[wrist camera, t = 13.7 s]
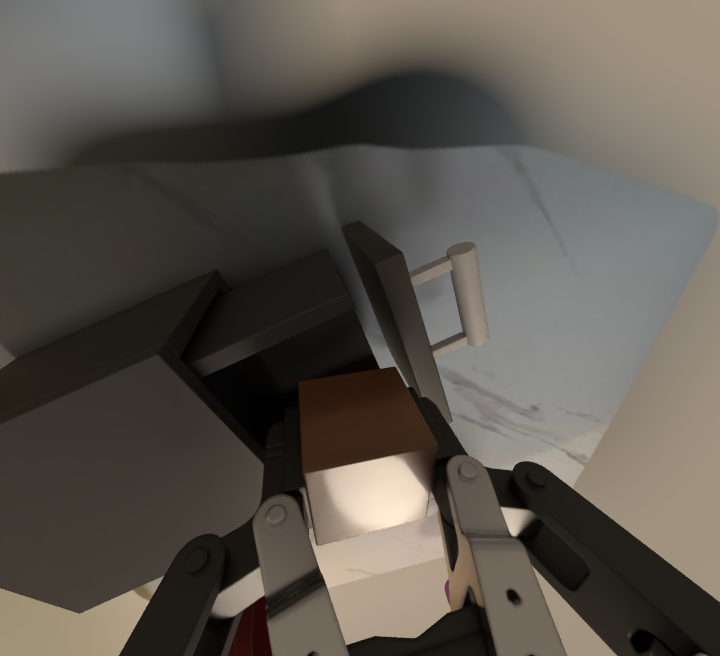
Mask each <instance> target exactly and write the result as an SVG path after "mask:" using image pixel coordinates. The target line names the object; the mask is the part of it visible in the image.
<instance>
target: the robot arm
mask: <svg viewBox="0 0 720 656" xmlns="http://www.w3.org/2000/svg"><path fill="white" fill-rule="evenodd" d="M407 389H408V391H409V392H410V394H411V396H412V398H413V400H414V402H415V403H416V405H417V407H418V409H419V411H420V413H421V415H422V416H423V418H424V420H425V422H426V424H427V426H428V427H429V429H430V431H431V433H432V435H433V437H434V438H435V440H436V442H437V444H438V446H437V453H436V459H435V465H434V471H433V478H432V484H431V490H430V496H429V500H431V499H435V500H436V503H437V505H438V507H439V508H438V520H439V525H440V531H441V536H442V542H443V548H444V553H445V558H446V563H447V570H448V577H449V599H450V607H451V612H449V613H447V614H446V615H445V616H443V617H442V618H441V619H440V620H438V621H437V622H436V623H435V624H434V625H432V626H431V627H430V628H429V629H427V630H426V631H425V632H424V633H422V634H421V635H420V636H419V637H417V638H397V637H380V636H374V637H371V638H368V639H365V640H361V641H358V642H355V643H352V644H349V645H346V644H345V641H344V638H343V635H342V632H341V629H340V626H339V622H338V619H337V617H336V613H335V610H334V608H333V604H332V601H331V598H330V595H329V592H328V589H327V586H326V583H325V581H324V578H323V575H322V574H321V572H320V569H319V566H318V563H317V560H316V557H315V554H314V551H313V548H312V545H311V542H310V539H309V529H310V528H313V526H312V520H311V515H310V510H309V504H308V499H307V494H306V488H305V483H304V478H303V472H302V453H301V432H300V412H299V406H293V407H287V408H285V411H284V421H283V422H277V423H273V424H272V425H271V427H270V429H269V431H268V433H267V434H266V446H265V447H266V449H265V459H264V472H263V485H262V497H261V502H260V505H259V507H258V509H257V511H256V512H255V514H254V515H253V516H252V517H251V518H250V519H249V520H248V521H247V522H246V523H245V524H243V525H242V526H240V527H239V528H237V529H235V530H234V531H232V532H230V533H228V534H227V535H225V536H223V537H221V538H220V537H219V536H218V535H215V534H203V535H200V536H198V537H196V538H194V539H192V540H191V541H189V542H188V543H187V544H186V545H185V546H184V547H183V548H182V549H181V550H180V551H179V552H178V553H177V555H176V557H175V558H174V560H173V561H172V563H171V565H170V567H169V569H168V570H167V572H166V574H165V576H164V577H163V579H162V581H161V583H160V584H159V586H158V588H157V590H156V591H155V593H154V595H153V597H152V598H151V600H150V602H149V604H148V606H147V607H146V609H145V611H144V613H143V614H142V616H141V618H140V620H139V621H138V623H137V625H136V627H135V628H134V630H133V632H132V634H131V636H130V637H129V639H128V641H127V642H126V644H125V646H124V648H123V649H122V651H121V653H120V655H119V656H228V653H229V650H230V647H231V644H232V641H233V638H234V636H235V633H236V630H237V627H238V624H239V621H240V618H241V615H242V612H243V610H244V609H245V608H247V607H248V606H250V605H251V604H252V603H254V602H255V601H257V600H258V599H259V598H261V597H262V596H264V595H265V599H266V619H267V626H268V632H269V638H270V643H271V649H272V655H273V656H567V654H566V652H565V649H564V647H563V644H562V641H561V639H560V636H559V634H558V631H557V628H556V626H555V624H554V621H553V618H552V616H551V613H550V611H549V608H548V606H547V603H546V601H545V598H544V595H543V593H542V590H541V588H540V585H539V583H538V580H537V577H536V575H535V572H534V570H533V567H534V568H535V569H536V570H537V571H538V572H539V573H540V574H541V575H542V576H543V577H544V578H545V580H546V581H547V582H548V583H549V584H550V585H551V586H552V587H553V588H554V589H555V590H556V591H557V592H558V593H559V594H560V595H561V596H562V598H563V599H564V600H565V601H566V602H567V603H568V604H569V605H570V606H571V607H572V608H573V609H574V610H575V611H576V612H577V613H578V615H579V616H580V617H581V618H582V619H583V620H584V621H585V622H586V623H587V624H588V625H589V626H590V627H591V628H592V629H593V630H594V632H595V633H596V634H597V635H598V636H599V637H600V638H601V639H602V640H603V641H604V642H605V643H606V644H607V645H608V646H609V647H610V648H611V649H612V651H613V652H614V653H615V654H616V655H617V656H720V602H719V601H717V600H716V599H715V598H713V597H712V596H711V595H710V594H708V593H707V592H706V591H704V590H703V589H702V588H700V587H699V586H698V585H697V584H695V583H694V582H692V581H691V580H690V579H689V578H688V577H686V576H685V575H684V574H682V573H681V572H680V571H678V570H677V569H676V568H674V567H673V566H672V565H671V564H669V563H668V562H667V561H665V560H664V559H663V558H661V557H660V556H659V555H658V554H656V553H655V552H654V551H653V550H651V549H650V548H649V547H647V546H646V545H645V544H643V543H642V542H641V541H639V540H638V539H637V538H635V537H634V536H633V535H632V534H630V533H629V532H628V531H627V530H625V529H624V528H623V527H621V526H620V525H619V524H618V523H616V522H615V521H614V520H612V519H611V518H610V517H608V516H607V515H606V514H604V513H603V512H602V511H601V510H599V509H598V508H596V507H595V506H594V505H593V504H591V503H590V502H589V501H588V500H586V499H585V498H584V497H583V496H581V495H580V494H579V493H577V492H576V491H575V490H573V489H572V488H571V487H570V486H568V485H567V484H566V483H564V482H563V481H562V480H560V479H559V478H558V477H557V476H555V475H554V474H553V473H551V472H550V471H549V470H547V469H546V468H545V467H543V466H541V465H539V464H537V463H534V462H529V461H524V462H519V463H518V464H516V465H515V466H514V468H513V471H511V470H502V469H492V468H488V467H484V466H483V465H482V464H481V463H480V462H479V461H478V460H476V459H474V458H473V457H470V456H468V454H467V453H466V451H465V450H464V448H463V447H462V445H461V443H460V442H459V440H458V439H457V437H456V436H455V434H454V432H453V431H452V429H451V428H450V426H449V424H447V421H446V420H445V418H444V416H442V413H441V412H440V410H439V408H438V407H437V405H436V404H435V403H434V402H432V401H431V400H430V399H429V398H427V397H421V398H419V396H418V394H417V393H416V391H415V389H414V388H413V387H408V388H407ZM532 566H533V567H532Z"/></svg>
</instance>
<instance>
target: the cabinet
mask: <svg viewBox="0 0 720 656" xmlns="http://www.w3.org/2000/svg"><path fill="white" fill-rule="evenodd" d="M229 292H231V290H230V289H229V287H228V286H227V285H226V283H225V282H224V280H223V279H222V277H221V276H220V274H219V273H218V271H217V270H214V271H211V272H209V273H207V274H205V275H202V276H200V277H198V278H196V279H194V280H191V281H189V282H187V283H185V284H182V285H180V286H178V287H176V288H173V289H171V290H169V291H167V292H164V293H162V294H160V295H158V296H156V297H153V298H151V299H149V300H147V301H144V302H142V303H140V304H138V305H135V306H133V307H131V308H129V309H126V310H124V311H122V312H120V313H117V314H115V315H113V316H111V317H109V318H106V319H104V320H102V321H100V322H97V323H95V324H93V325H91V326H88V327H86V328H84V329H82V330H79V331H77V332H75V333H73V334H71V335H68V336H66V337H64V338H62V339H59V340H57V341H55V342H53V343H50V344H48V345H46V346H44V347H41V348H39V349H37V350H35V351H32V352H30V353H28V354H26V355H24V356H21V357H19V358H17V359H15V360H13V361H12V362H11V363H9V364H8V365H6V366H5V367H3V368H2V369H1V370H0V588H1V589H5V590H8V591H11V592H14V593H17V594H20V595H23V596H26V597H30V598H33V599H36V600H39V601H42V602H45V603H48V604H51V605H54V606H58V607H61V608H64V609H67V610H70V611H73V612H76V613H82V612H84V611H86V610H88V609H91V608H93V607H95V606H97V605H100V604H102V603H104V602H106V601H108V600H111V599H113V598H115V597H117V596H120V595H122V594H124V593H126V592H129V591H131V590H133V589H135V588H137V587H140V586H142V585H144V584H146V583H149V582H151V581H153V580H155V579H157V578H160V577H162V576H164V575H165V574H166V572H167V570H168V569H169V567H170V565H171V563H172V561H173V560H174V558H175V557H176V555H177V553H178V552H179V551H180V550H181V549H182V548H183V547H184V546H185V545H186V544H187V543H188V542H189V541H191V540H192V539H194V538H196V537H198V536H200V535H203V534H215V535H218V536H219V537H220V538H221V537H223V536H225V535H227V534H228V533H230V532H232V531H234V530H235V529H237V528H239V527H240V526H242V525H243V524H245V523H246V522H247V521H248V520H249V519H250V518H251V517H252V516H253V515H254V514H255V512H256V511H257V509H258V507H259V505H260V502H261V497H262V485H263V472H264V459H265V450H264V449H263V448H262V447H261V446H260V445H259V444H258V443H257V442H256V440H255V439H254V438H253V437H252V436H251V435H250V434H249V433H248V432H247V431H246V430H245V429H244V427H243V426H242V425H241V424H240V423H239V422H238V421H237V420H236V419H235V418H234V417H233V416H232V414H231V413H230V412H229V411H228V410H227V409H226V408H225V407H224V406H223V405H222V404H221V402H220V401H219V400H218V399H217V398H216V397H215V396H214V395H213V394H212V393H211V392H210V391H209V389H208V388H207V387H206V386H205V385H204V384H203V383H202V382H201V381H200V380H199V379H198V378H197V376H196V375H195V374H194V373H193V372H192V371H191V370H190V369H189V368H188V367H187V366H186V365H185V363H184V362H183V361H182V360H181V359H180V356H181V354H182V353H183V351H184V349H185V347H186V346H187V344H188V342H189V340H190V339H191V337H192V335H193V333H194V331H195V330H196V328H197V326H198V324H199V323H200V321H201V319H202V317H203V316H204V314H205V312H206V310H207V309H208V307H209V305H210V303H211V302H212V300H213V299H216V298H218V297H220V296H222V295H224V294H227V293H229Z"/></svg>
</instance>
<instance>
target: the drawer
mask: <svg viewBox="0 0 720 656" xmlns="http://www.w3.org/2000/svg"><path fill="white" fill-rule="evenodd" d="M341 229H342V232H343V234H344V237H345V239H346V242H347V244H348V247H349V249H350V252H351V254H352V257H353V260H354V262H355V265H356V267H357V270H358V272H359V275H360V277H361V280H362V282H363V285H364V287H365V290H366V292H367V295H368V297H369V300H370V302H371V305H372V307H373V310H374V312H375V315H376V317H377V320H378V322H379V325H380V327H381V330H382V332H383V335H384V337H385V340H386V342H387V345H388V347H389V350H390V352H391V355H392V356H393V358H394V360H395V362H396V364H397V365H398V367H399V369H400V371H401V372H402V374H403V376H404V378H405V380H406V381H407V383H408V385H409V387H413V388H414V389H415V391H416V393H417V394H418V396H419V398H421V397H427V398H429V399H430V400H431V401H432V402H434V403H435V404H436V405H437V407H438V408H439V410H440V412H441V413H442V416H444V418H445V420H446V421H447V424H448V423H450V422H452V421H453V420H452V417H451V413H450V410H449V407H448V403H447V400H446V396H445V393H444V390H443V386H442V383H441V380H440V376H439V373H438V370H437V366H436V363H435V358H437V357H440V356H442V355H444V354H446V353H448V352H451V351H453V350H455V349H457V348H460V347H462V346H464V345H466V344H468V345H470V346H481V345H484V344H486V343H487V342H488V341H489V331H488V325H487V318H486V312H485V305H484V299H483V292H482V285H481V279H480V272H479V266H478V259H477V253H476V246H475V244H474V243H471V242H464V243H459V244H456V245H453V246H451V247H450V248H449V249H448V250H447V252H446V254H447V257H443V258H441V259H439V260H436V261H434V262H432V263H430V264H427V265H425V266H423V267H421V268H418V269H416V270H414V271H412V272H410V273H409V272H408V269H407V265H406V262H405V259H404V255H403V253H402V252H401V251H400V250H399V249H397V248H396V247H395V246H393V245H392V244H390V243H389V242H388V241H386V240H385V239H384V238H382V237H381V236H380V235H378V234H377V233H375V232H374V231H373V230H371V229H370V228H369V227H367V226H366V225H364V224H363V223H362V222H360V221H356V222H354V223H351V224H349V225H347V226H345V227H342V228H341ZM448 271H450V273H451V278H452V282H453V287H454V292H455V296H456V301H457V306H458V310H459V315H460V320H461V325H462V329H463V333H462V332H461V333H458V334H456V335H454V336H452V337H449V338H447V339H445V340H443V341H440V342H438V343H436V344H434V345H432V346H430V343H429V339H428V336H427V333H426V329H425V326H424V322H423V319H422V316H421V312H420V309H419V306H418V302H417V299H416V296H415V292H414V289H413V287H415V286H417V285H419V284H422V283H424V282H426V281H428V280H430V279H433V278H435V277H437V276H439V275H442V274H444V273H446V272H448ZM354 309H355V307H354V305H353V303H352V301H351V298H350V296H349V294H348V292H347V290H346V288H345V285H344V283H343V281H342V279H341V277H340V275H339V273H338V271H337V269H336V267H335V265H334V263H333V261H332V259H331V257H330V255H329V253H328V251H327V249H325V250H323V251H321V252H318V253H316V254H314V255H312V256H309V257H307V258H305V259H303V260H300V261H298V262H296V263H294V264H292V265H289V266H287V267H285V268H283V269H280V270H278V271H276V272H274V273H271V274H269V275H267V276H265V277H262V278H260V279H258V280H256V281H254V282H251V283H249V284H247V285H245V286H242V287H240V288H238V289H236V290H233V291H231V292H229V293H227V294H224V295H222V296H220V297H218V298H216V299H213V300H212V302H211V303H210V305H209V307H208V309H207V310H206V312H205V314H204V316H203V317H202V319H201V321H200V323H199V324H198V326H197V328H196V330H195V331H194V333H193V335H192V337H191V339H190V340H189V342H188V344H187V346H186V347H185V349H184V351H183V353H182V354H181V356H180V359H181V360H182V361H183V362H184V363H185V365H186V366H187V367H188V368H189V369H190V370H191V371H192V372H193V373H194V374H195V375H196V376H197V378H198V379H199V380H200V381H201V382H202V383H203V384H204V385H205V386H206V387H207V388H208V389H209V391H210V392H211V393H212V394H213V395H214V396H215V397H216V398H217V399H218V400H219V401H220V402H221V404H222V405H223V406H224V407H225V408H226V409H227V410H228V411H229V412H230V413H231V414H232V416H233V417H234V418H235V419H236V420H237V421H238V422H239V423H240V424H241V425H242V426H243V427H244V429H245V430H246V431H247V432H248V433H249V434H250V435H251V436H252V437H253V438H254V439H255V440H256V442H257V443H258V444H259V445H260V446H261V447H262V448H263V449H264V450H265V449H266V447H265V446H266V434H267V433H268V431H269V429H270V427H271V425H272V424H273V423H277V422H283V421H284V411H285V408H287V407H293V406H299V391H298V383H299V381H305V380H311V379H318V378H324V377H331V376H337V375H344V374H350V373H357V372H363V371H370V370H376V369H380V368H379V365H378V363H377V361H376V359H375V357H374V355H373V352H372V350H371V348H370V346H369V343H368V341H367V339H366V337H365V334H364V332H363V330H362V327H361V325H360V323H359V321H358V318H357V316H356V314H355V312H354Z"/></svg>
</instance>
